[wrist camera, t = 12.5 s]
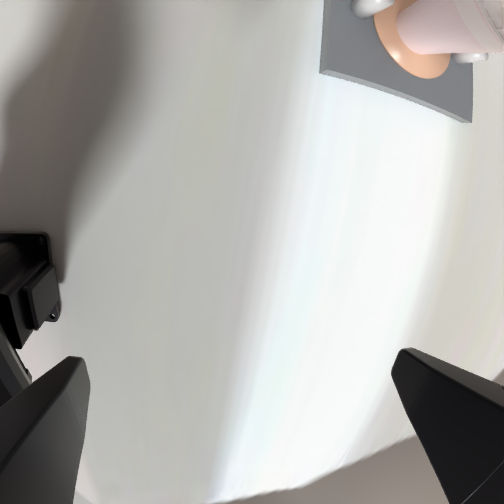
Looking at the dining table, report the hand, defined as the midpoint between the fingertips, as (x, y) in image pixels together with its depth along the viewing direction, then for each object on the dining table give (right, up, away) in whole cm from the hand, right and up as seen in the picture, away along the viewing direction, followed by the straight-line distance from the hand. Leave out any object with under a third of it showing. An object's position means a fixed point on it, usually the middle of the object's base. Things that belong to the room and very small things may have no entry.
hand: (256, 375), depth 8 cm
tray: (+12, +20, +10) cm, 25 cm away
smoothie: (+12, +19, +9) cm, 24 cm away
